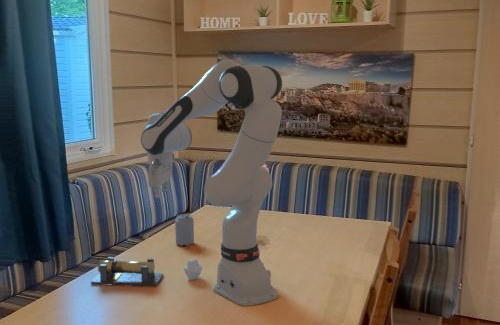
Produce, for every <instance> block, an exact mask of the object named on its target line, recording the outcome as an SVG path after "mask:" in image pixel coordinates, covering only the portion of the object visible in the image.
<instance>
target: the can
mask: <svg viewBox="0 0 500 325" xmlns="http://www.w3.org/2000/svg"><path fill="white" fill-rule="evenodd" d="M174 222H175V225H174V226H175V230H174V231H175V244H177V245H178V244H179V245H189V244H191V245H193V244H194V242H195V227H194V225H195V224H194V223H195V222H194V218H193V215H191V214H187V213H184V214H183V213H182V214H178V215H177V216H176V218H175V221H174ZM179 245H178V246H179ZM189 246H190V245H189Z"/></svg>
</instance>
